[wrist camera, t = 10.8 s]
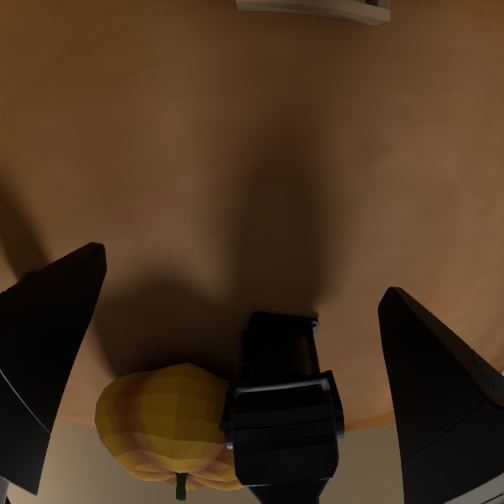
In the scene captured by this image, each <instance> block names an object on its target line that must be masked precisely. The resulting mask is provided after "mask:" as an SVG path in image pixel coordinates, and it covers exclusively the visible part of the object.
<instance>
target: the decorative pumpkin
mask: <svg viewBox="0 0 504 504" xmlns="http://www.w3.org/2000/svg"><path fill="white" fill-rule="evenodd" d="M230 381H231V380H227V379H223V378H219V377H218V376H216V375H214V374H212V373H210V372H208V371H207V370H205V369H203V368H200V367H198V366H195V365H193V364H191V363H188V362H187V363H182V364H176V365H171V366H168V367H165V368H162V369H159V370H155V371H141V372H136V373H133V374H129V375H125V376H122V377H118V378H117V379H115V380H114V381H113V382H112V383H110V384H109V385H108V386H107V387H106V388H104V390H103V392H102V394H101V396H100V398H99V399H98V401H97V403H96V413H95V424H96V427H97V430H98V434H99V437H100V440H101V441H102V443H103V444H104V445H105V447H106V448H107V449H108V451H109V452H110V453H111V454H112V456H113V457H114V458H116V459H117V460H118V461H119V462H120V463H121V465H122V466H123V467H124V468H125V469H126V470H127V471H128V473H129V474H130V475H132V476H134V477H137V478H138V479H141V480H146V481H149V480H150V481H157V480H159V481H160V480H164V481H166V482H168V483H170V484H171V485H173V486H175V487H176V499H177V500H180V501H185V500H186V491H187V490H193V489H197V488H200V487H203V486H209V487H212V488H216V489H220V490H223V491H228V490H235V489H241V488H242V487H244V486H242V485H241V483H240V482H239V480H238V479H237V477H236V475H235V466H234V456H233V450H229V449H228V447H227V445H226V442H225V438H224V436H223V435H222V434H221V433H220V432H219V424H220V422H221V419H222V415H223V410H224V404H225V398H226V393H227V389H229V383H230Z"/></svg>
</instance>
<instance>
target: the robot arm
mask: <svg viewBox="0 0 504 504" xmlns="http://www.w3.org/2000/svg"><path fill="white" fill-rule="evenodd" d="M106 271H107V263H106V253H105V247H104V245H103V244H101V243H95V242H91V243H88V244H87V245H85V246H83V247H81V248H79V249H77V250H75V251H73V252H71V253H70V254H68V255H66V256H64V257H62V258H60V259H59V260H57V261H55V262H53V263H51V264H49V265H48V266H46V267H44V268H42V269H41V270H39V271H37V272H35V273H34V274H32V275H30V276H28V277H27V278H25V279H23V280H22V281H20V282H18V283H17V284H15V285H13V286H12V287H10V288H8V289H7V290H6V292H5V291H3V292H2V293H0V504H11V503H10V501H9V499H8V497H7V490H8V486H9V482H10V483H12V484H14V485H16V486H17V487H19V488H21V489H23V490H25V491H27V492H30V493H31V494H34V495H37V493H38V488H39V483H40V478H41V473H42V469H43V464H44V460H45V456H46V451H47V448H48V444H49V440H50V436H51V435H50V434H51V432H52V429H53V425H54V421H55V418H56V415H57V411H58V408H59V405H60V402H61V399H62V396H63V393H64V390H65V387H66V384H67V381H68V378H69V375H70V372H71V369H72V367H73V364H74V361H75V358H76V356H77V353H78V351H79V348H80V345H81V343H82V340H83V338H84V335H85V333H86V330H87V328H88V325H89V323H90V321H91V318H92V316H93V313H94V310H95V306H96V303H97V300H98V297H99V293H100V290H101V287H102V284H103V281H104V278H105V275H106ZM255 317H258V318H255ZM378 317H379V325H380V333H381V341H382V349H383V354H384V359H385V364H386V369H387V374H388V379H389V384H390V390H391V395H392V401H393V407H394V413H395V420H396V426H397V433H398V440H399V447H400V456H401V467H402V478H403V490H404V504H445V503H447V502H448V504H504V376H503V375H502V374H500V373H499V372H498V371H497V370H496V369H494V368H493V367H492V366H491V365H490V364H489V363H487V362H486V361H485V360H484V359H483V358H482V357H481V356H480V355H478V354H477V353H476V352H475V351H474V350H473V349H471V347H470V346H469V345H467V344H466V343H465V342H464V341H463V340H462V339H461V338H460V337H458V336H457V335H456V334H455V333H454V332H453V331H452V330H450V329H449V328H448V327H447V326H446V325H445V324H444V323H442V322H441V321H440V320H439V319H438V318H437V317H435V316H434V315H433V314H432V313H431V312H430V311H428V310H427V309H426V308H425V307H424V306H422V305H421V304H420V303H419V302H418V301H416V300H415V299H414V298H413V297H412V296H410V295H409V294H408V293H407V292H405V291H404V290H403V289H402V288H400V287H389V288H388V289H387V291H386V293H385V294H384V296H383V298H382V300H381V301H380V303H379V306H378ZM313 323H314V324H313ZM318 326H319V321H318V320H317V319H315V318H305V317H296V316H287V315H278V314H269V313H261V312H254V313H252V314H251V316H250V320H249V324H248V327H247V329H245V330H243V331H242V335H241V339H240V343H239V352H238V378H239V380H244V381H243V382H236V381H230V383H229V389H227V393H226V398H225V404H224V410H223V415H222V419H221V422H220V424H219V432H220V433H221V434H222V435H223V436H224V438H225V442H226V445H227V447H228V449H229V450H233V456H234V466H235V475H236V477H237V479H238V480H239V482H240V483H241V485H242V486H247V487H248V488H249V489H250V491H251V492H252V493H253V494H254V495H255V497H256V498H257V499H258V500H259V501H260V503H261V504H319V496H320V494H321V493H322V491H323V489H324V488H325V486H326V484H327V482H328V480H329V479H330V478H332V477H333V475H334V473H335V471H336V468H337V466H338V461H339V454H338V442H337V439H341V438H343V437H344V416H343V409H342V404H341V400H340V397H339V393H338V390H337V387H336V383H335V380H334V377H333V373H332V370H328V371H325V372H322V373H320V367H319V362H318V357H317V351H316V346H315V341H314V334H315V332H316V330H317V328H318Z"/></svg>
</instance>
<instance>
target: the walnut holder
mask: <svg viewBox="0 0 504 504" xmlns="http://www.w3.org/2000/svg"><path fill="white" fill-rule="evenodd" d="M390 4H391V0H236V5H237V10H250V11H273V12H286V13H297V14H306V15H314V16H321V17H328V18H334V19H340V20H345V21H350V22H355V23H360V24H364V25H369V26H376V25H380V24H384V23H388V22H390Z"/></svg>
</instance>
